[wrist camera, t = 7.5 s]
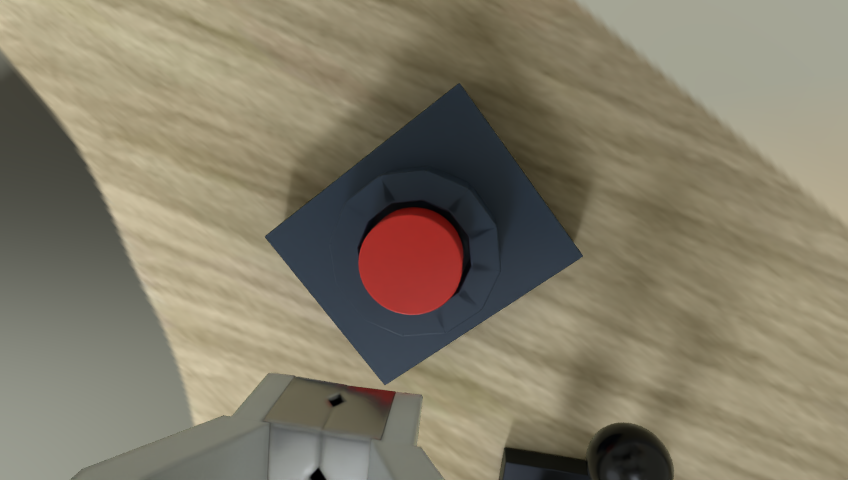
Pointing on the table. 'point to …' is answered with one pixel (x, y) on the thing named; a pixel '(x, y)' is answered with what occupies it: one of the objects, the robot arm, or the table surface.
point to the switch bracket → (540, 466)
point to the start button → (411, 261)
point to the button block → (444, 194)
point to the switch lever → (628, 454)
